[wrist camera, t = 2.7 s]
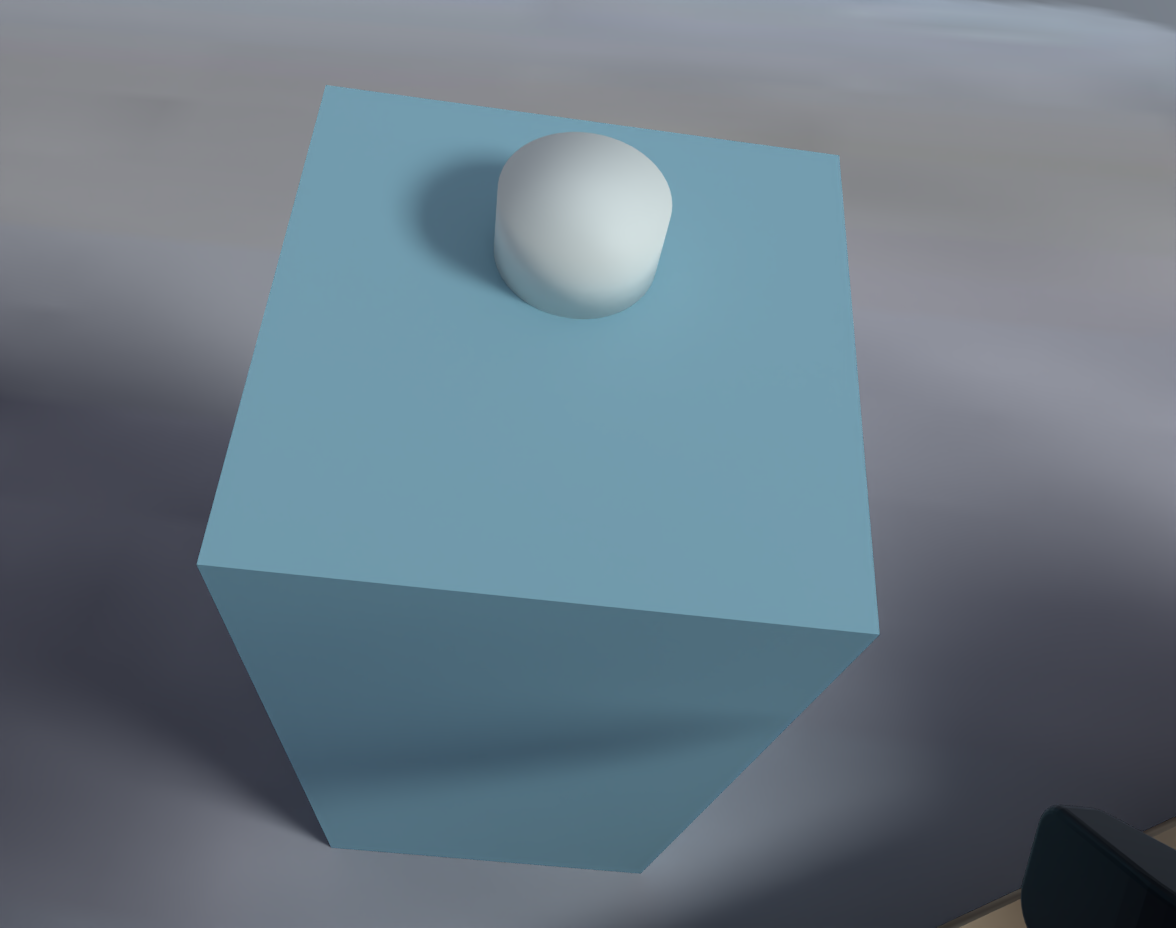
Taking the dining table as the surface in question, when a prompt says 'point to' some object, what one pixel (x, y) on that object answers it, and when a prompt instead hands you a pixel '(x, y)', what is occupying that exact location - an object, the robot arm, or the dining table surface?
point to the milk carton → (543, 478)
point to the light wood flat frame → (1003, 919)
